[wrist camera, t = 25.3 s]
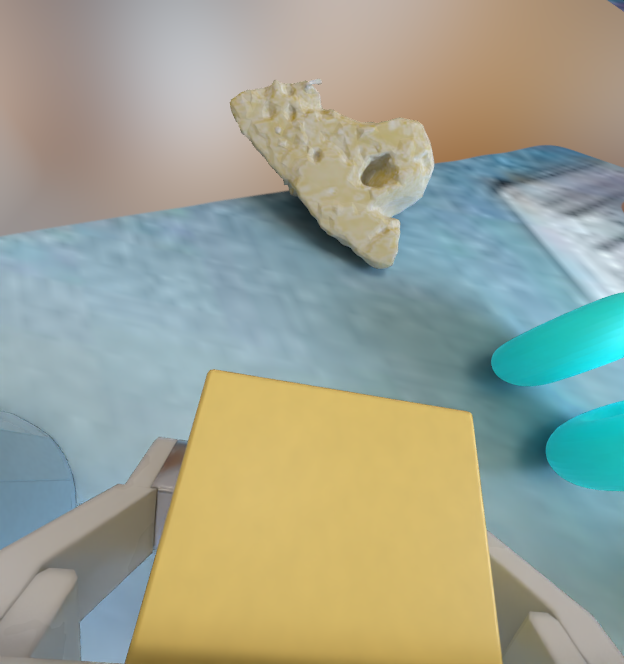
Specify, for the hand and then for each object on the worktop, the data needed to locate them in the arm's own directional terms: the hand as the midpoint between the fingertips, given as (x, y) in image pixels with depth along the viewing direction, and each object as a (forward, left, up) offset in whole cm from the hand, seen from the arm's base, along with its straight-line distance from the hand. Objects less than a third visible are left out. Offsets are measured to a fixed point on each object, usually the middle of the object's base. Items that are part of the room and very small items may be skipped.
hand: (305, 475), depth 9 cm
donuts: (+8, -20, -12) cm, 25 cm away
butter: (-1, 0, -6) cm, 6 cm away
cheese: (+23, 0, -12) cm, 26 cm away
